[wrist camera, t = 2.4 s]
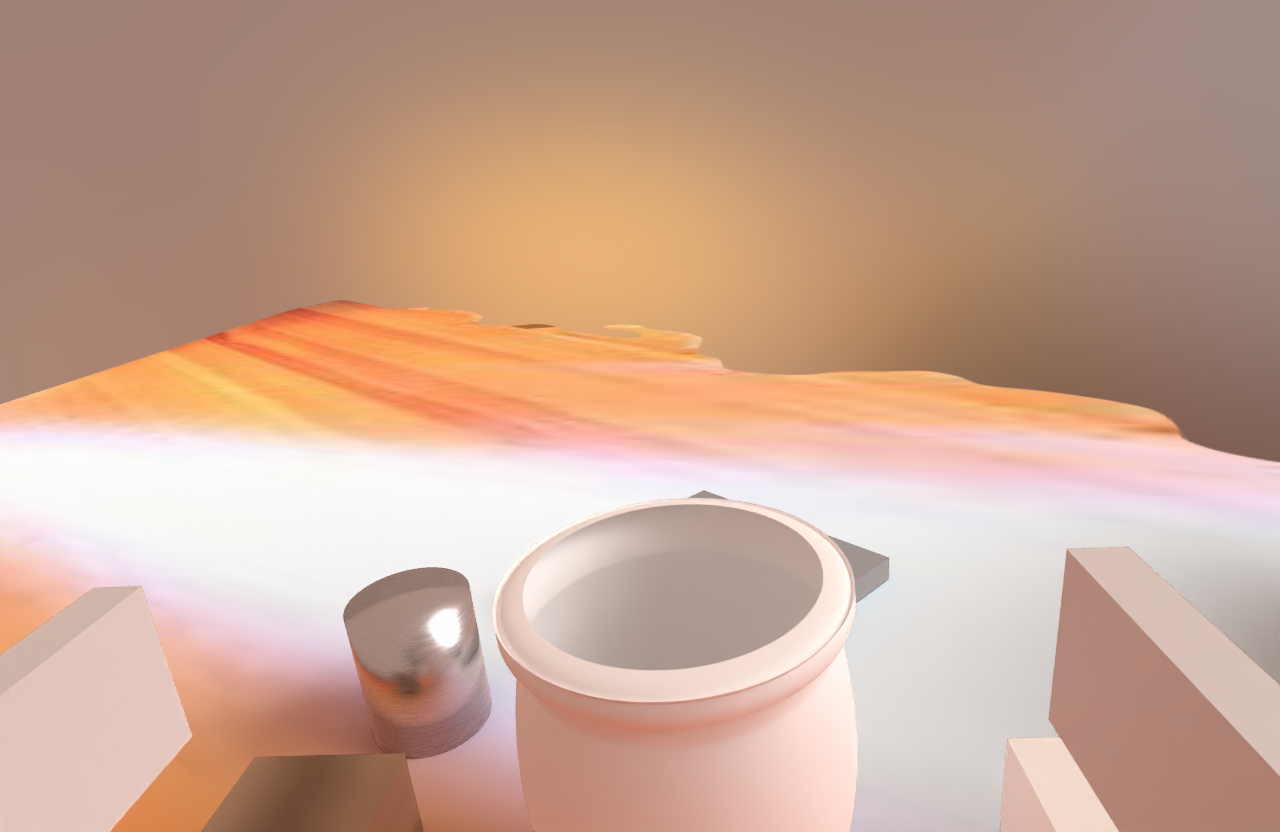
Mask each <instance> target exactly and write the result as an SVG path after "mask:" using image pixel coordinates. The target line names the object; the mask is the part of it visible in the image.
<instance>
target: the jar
mask: <svg viewBox="0 0 1280 832" xmlns="http://www.w3.org/2000/svg"><path fill="white" fill-rule="evenodd" d="M855 610H856V596H855V580H854V574H853V571H852V568H851V565H850V563H849V561H848V559H847V557H846V556H845V554H844V553H843V551H842V550H841V549H840V548H839V546H838V545H837V544H836V543H835V542H834V541H833V540H832V539H831V538H829V537H828V536H827V535H826V534H825V533H823V532H822V531H820V530H819V529H818V528H816V527H814V526H813V525H811V524H809V523H807V522H806V521H804V520H802V519H799V518H797V517H795V516H793V515H790V514H788V513H785V512H782V511H779V510H776V509H773V508H769V507H766V506H762V505H757V504H752V503H747V502H741V501H734V500H725V499H711V498H681V499H666V500H657V501H649V502H643V503H637V504H632V505H627V506H623V507H619V508H615V509H611V510H607V511H604V512H601V513H598V514H595V515H592V516H589V517H586V518H584V519H581V520H579V521H576V522H574V523H572V524H570V525H567V526H565V527H563V528H561V529H559V530H557V531H556V532H554V533H552V534H550V535H549V536H547V537H545V538H544V539H542V540H541V541H539V542H538V543H536V544H535V545H534V546H532V547H531V548H530V549H529V550H527V551H526V552H525V553H524V554H523V555H522V556H521V557H520V558H519V559H518V560H517V561H516V562H515V563H514V564H513V565H512V566H511V567H510V569H509V570H508V571H507V573H506V574H505V575H504V577H503V579H502V580H501V582H500V584H499V586H498V588H497V591H496V594H495V597H494V601H493V608H492V617H493V624H494V628H495V632H496V638H497V643H498V646H499V650H500V652H501V655H502V657H503V659H504V661H505V663H506V665H507V666H508V668H509V669H510V671H511V672H512V673H513V675H514V676H515V677H516V679H517V684H516V736H517V749H518V759H519V767H520V774H521V781H522V786H523V791H524V796H525V801H526V805H527V809H528V813H529V817H530V820H531V824H532V827H533V830H534V832H850V828H851V823H852V817H853V811H854V804H855V795H856V785H857V767H858V742H857V724H856V714H855V705H854V697H853V690H852V684H851V679H850V673H849V668H848V664H847V659H846V655H845V651H844V648H843V647H844V645H845V643H846V641H847V639H848V637H849V634H850V632H851V629H852V626H853V622H854V618H855Z"/></svg>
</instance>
